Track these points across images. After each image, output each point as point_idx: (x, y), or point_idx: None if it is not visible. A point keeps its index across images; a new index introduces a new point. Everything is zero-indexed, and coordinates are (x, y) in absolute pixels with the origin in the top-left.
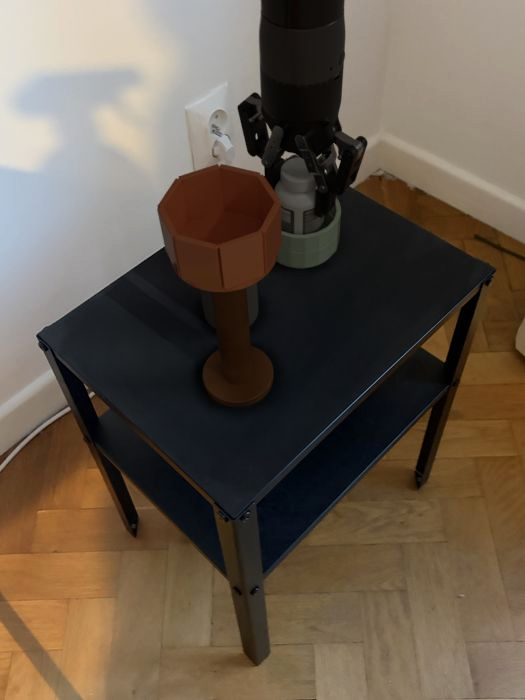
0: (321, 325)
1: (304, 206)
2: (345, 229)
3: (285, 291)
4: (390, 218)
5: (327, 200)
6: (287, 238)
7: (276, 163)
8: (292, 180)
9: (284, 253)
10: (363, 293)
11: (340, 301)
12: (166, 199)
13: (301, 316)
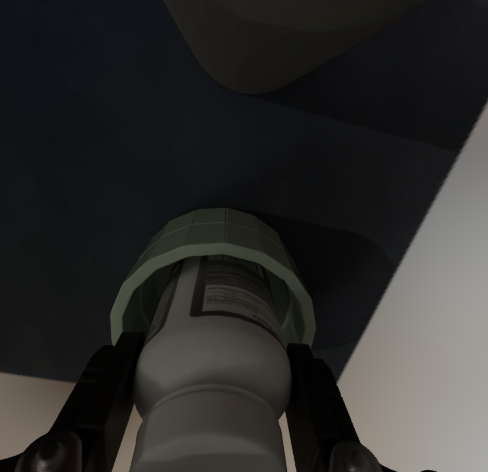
0: (45, 89)
1: (156, 345)
2: None
3: (174, 145)
4: None
5: (73, 398)
6: (195, 240)
7: (316, 469)
8: (200, 439)
9: (209, 219)
10: (33, 217)
11: (57, 176)
12: None
13: (100, 93)
